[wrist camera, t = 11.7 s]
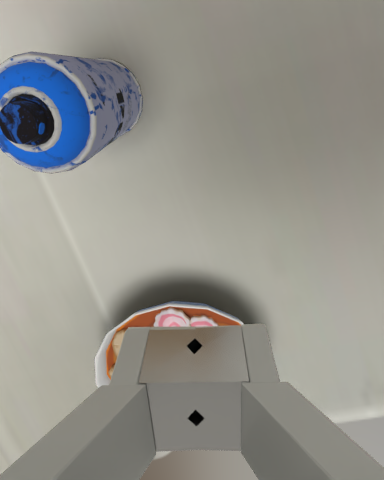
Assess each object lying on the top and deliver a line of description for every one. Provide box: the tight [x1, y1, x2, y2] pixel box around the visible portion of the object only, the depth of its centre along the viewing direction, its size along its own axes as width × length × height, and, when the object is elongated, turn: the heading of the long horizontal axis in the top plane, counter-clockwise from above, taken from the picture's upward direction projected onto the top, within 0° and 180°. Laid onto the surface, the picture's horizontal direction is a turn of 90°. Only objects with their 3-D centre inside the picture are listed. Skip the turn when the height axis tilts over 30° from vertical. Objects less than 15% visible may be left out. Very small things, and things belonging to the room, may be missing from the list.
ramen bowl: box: [94, 301, 244, 388], centre depth 48 cm, size 25×23×8 cm
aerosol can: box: [0, 52, 143, 173], centre depth 28 cm, size 8×8×20 cm
